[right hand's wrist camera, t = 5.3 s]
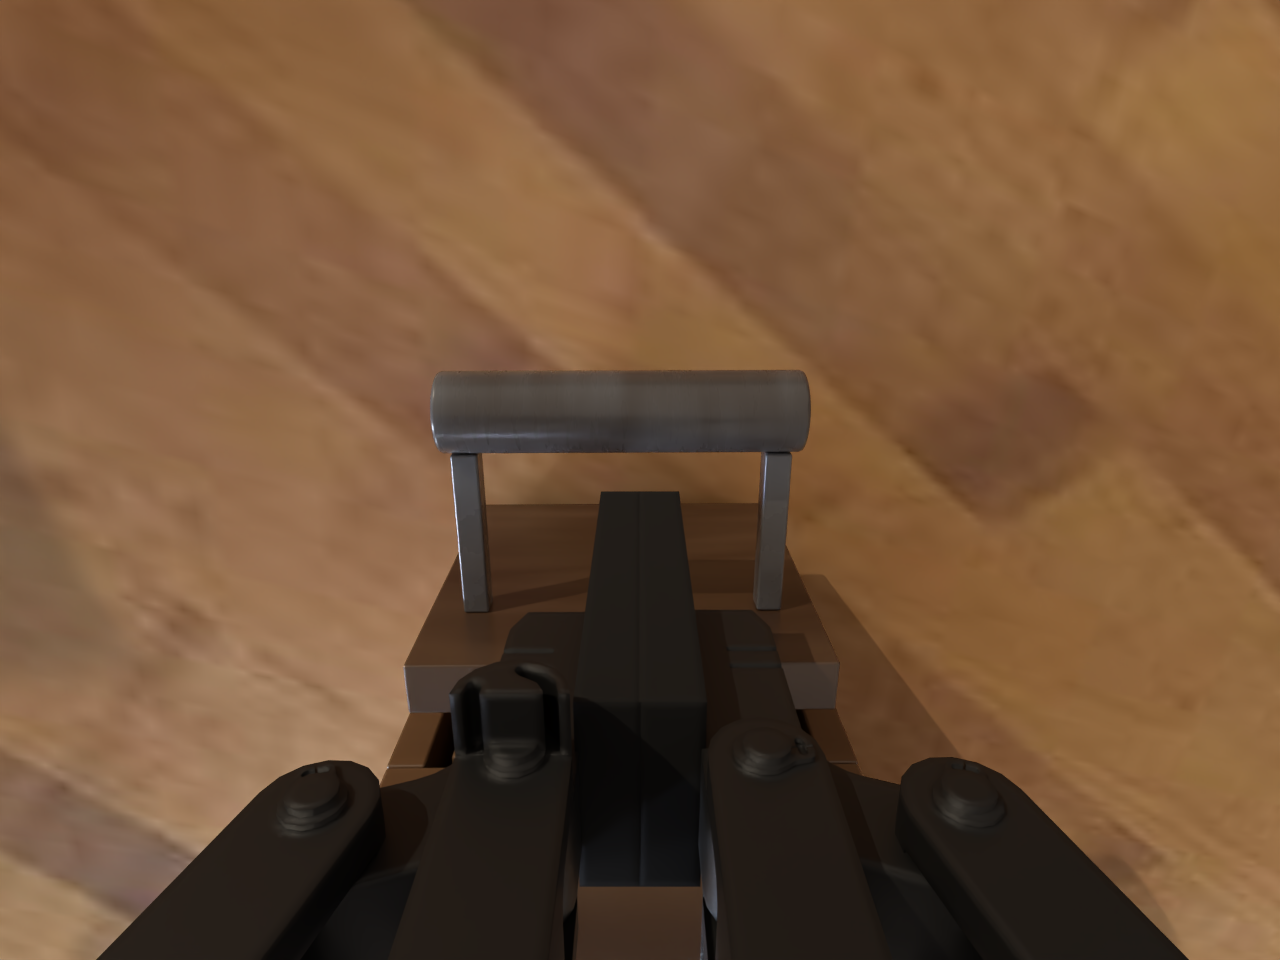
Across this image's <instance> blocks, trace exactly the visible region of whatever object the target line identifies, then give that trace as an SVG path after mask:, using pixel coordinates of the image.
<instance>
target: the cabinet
mask: <svg viewBox="0 0 1280 960" xmlns="http://www.w3.org/2000/svg"><path fill="white" fill-rule="evenodd" d="M796 712H797V716H798V719H799V722H800V725H801V729H802V730H803V731H805V732H806V733H807V734H809V735H810V736H811V737H813V738H814V739H815V740H816V741H817V743H818V744H819V746H820V747H821V749H822V751H823V752H824V754H825V756H826V759H827V760H828V761H829V762H830V763H832V764H834V765H836V766H838V767H840V768H842V769H844V770H846V771H849V772H852V773H855V774H858V775H861V776H862V774H861V771H860V769H859V766H858V765H857V759H856V757H855V754H854V752H853V750H852V747H851V745H850V742H849V740H848V737H847V735H846V732H845V730H844V728H843V725H842V723H841V720H840V718H839V715H838V713H837V710H836V708H834V709H804V710H796ZM454 750H455V749H454V739H453V729H452V720H451V713H410V714H409V717H408V719H407V721H406V724H405V726H404V728H403V731H402V733H401V735H400V738H399V740H398V742H397V745H396V747H395V749H394V752H393V754H392V756H391V759H390V761H389V763H388V766H387V768H388V769H387V770H386V772H385V774H384V777H383V779H382V781H381V784H380V788H382V787H386V786H390V785H395V784H399V783H403V782H407V781H412V780H416V779H419V778H422V777H425V776H428V775H431V774H434V773H436V772H438V771H440V770H442V769H444V768H446V767H448V766H450V765H451V764H452V756H453V753H454ZM577 900H578V926H579V928H578V940H577V952H576V960H700V953H701V926H702V900H703V890H702V879H701V886H700V887H580V886H579V882H578V893H577Z"/></svg>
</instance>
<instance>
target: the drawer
mask: <svg viewBox="0 0 1280 960" xmlns="http://www.w3.org/2000/svg"><path fill="white" fill-rule="evenodd" d="M810 417H811V400H810V390H809V384H808V380H807V377H806V375H805V373H804V372H803V371H800V370H638V371H441V372H439V373H437V374H436V376H435V378H434V381H433V385H432V389H431V397H430V419H431V428H432V434H433V438H434V441H435V444H436V447H437V449H438V450H439V451H440V452H442V453H452V455H451V457H450V460H451V471H452V482H453V493H454V504H455V515H456V526H457V537H458V548H459V553H458V555H457V557H456V559H455V561H454V563H453V565H452V568H451V570H450V572H449V574H448V576H447V578H446V580H445V582H444V584H443V586H442V588H441V590H440V592H439V594H438V596H437V598H436V600H435V603H434V605H433V607H432V609H431V611H430V613H429V615H428V617H427V619H426V621H425V623H424V625H423V627H422V629H421V631H420V633H419V635H418V637H417V640H416V642H415V644H414V646H413V648H412V650H411V652H410V654H409V656H408V658H407V660H406V662H405V664H404V667H403V668H404V676H405V684H406V692H407V700H408V708H409V712H410V713H451V710H450V700H449V693H450V692H451V690H452V689H453V687H454V686H455V684H456V683H457V682H458V680H460V679H461V678H463V677H464V676H466V675H467V674H469V673H470V672H472V671H473V670H475V669H477V668H480V667H483V666H486V665H489V664H492V663H495V662H500V660H501V657H502V654H503V653H504V647H505V644H506V641H507V637H508V634H509V631H510V629H511V628H512V627H513V626H514V625H515V624H516V623H517V622H518V621H519V620H520V619H521V618H523V617H524V616H525V615H526V614H527V613H528V612H585V608H586V601H587V593H588V586H589V578H590V571H591V564H592V556H593V549H594V541H595V534H596V526H597V519H598V512H599V504H554V505H486V500H485V487H484V474H483V461H482V453H630V452H761V468H760V485H759V502H758V503H746V504H681V512H682V519H683V526H684V534H685V541H686V549H687V556H688V564H689V571H690V578H691V586H692V593H693V601H694V608H695V610H753V611H754V612H755V613H756V614H757V615H758V616H759V617H760V618H761V619H762V620H763V621H764V622H765V623H767V624H768V625H769V626H770V628H771V631H772V634H773V638H774V641H775V644H776V651H778V654H779V657H780V660H781V666H782V668H783V670H784V673H785V677H786V680H787V683H788V686H789V690H790V693H791V696H792V699H793V703H794V706H795V709H796V710H804V709H834V708H835V704H836V695H837V685H838V676H839V666H840V663H839V660H838V658H837V656H836V654H835V652H834V650H833V647H832V645H831V643H830V641H829V639H828V636H827V634H826V632H825V630H824V628H823V625H822V623H821V621H820V619H819V617H818V615H817V612H816V610H815V608H814V606H813V604H812V601H811V599H810V597H809V595H808V593H807V590H806V588H805V586H804V584H803V582H802V580H801V577H800V575H799V573H798V571H797V569H796V566H795V564H794V562H793V560H792V558H791V555H790V553H789V551H788V549H787V547H786V533H787V519H788V505H789V492H790V478H791V464H792V455H791V453H790V452H799V451H801V450H803V448H804V447H805V444H806V441H807V438H808V434H809V428H810ZM454 757H455V750H454V753H453V756H452V763H453V760H454Z"/></svg>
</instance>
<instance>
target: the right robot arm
mask: <svg viewBox="0 0 1280 960" xmlns="http://www.w3.org/2000/svg"><path fill="white" fill-rule="evenodd" d="M449 700H450V710H451V720H452V729H453V739H454V749H455V757H454V760H453V763H452V764H451V765H450V766H448V767H446V768H444V769H442V770H440V771H438V772H436V773H434V774H431V775H428V776H425V777H422V778H419V779H416V780H412V781H407V782H403V783H399V784H395V785H390V786H386V787H382V788H380V785H379V780H378V779H377V777H376V776H375V775H374V774H373V773H372V771H371V770H370V769H369V768H368V767H365V766H363V765H360V764H357V763H355V762H352V761H332V760H328V761H323V762H319V763H314V764H310V765H305V766H302V767H300V768H298V769H296V770H294V771H291V772H289V773H287V774H285V775H283V776H281V777H279V778H278V779H276V780H275V781H274V782H272V783H271V784H270V785H269V786H267V787H266V788H265V789H264V790H262V791H261V792H260V793H259V794H258V795H257V796H256V797H255V798H254V799H253V800H252V801H251V802H250V803H249V804H248V805H247V806H246V807H245V808H244V809H243V810H242V811H241V812H240V813H239V814H238V815H237V816H236V817H235V818H234V819H233V820H232V821H231V822H230V823H229V824H228V825H227V826H226V827H225V828H224V829H223V830H222V832H221V833H220V834H219V835H218V836H217V837H216V838H215V839H214V840H213V841H212V842H211V843H210V844H209V845H208V846H207V847H206V848H205V849H204V850H203V851H202V852H201V853H200V854H199V855H198V856H197V857H196V858H195V859H194V860H193V861H192V862H191V863H190V864H189V865H188V866H187V867H186V868H185V869H184V870H183V871H182V872H181V873H180V875H179V876H178V877H177V878H176V879H175V880H174V881H173V882H172V883H171V884H170V885H169V886H168V887H167V888H166V889H165V890H164V891H163V892H162V893H161V894H160V895H159V896H158V897H157V898H156V899H155V900H154V901H153V902H152V903H151V904H150V905H149V906H148V907H147V908H146V909H145V910H144V911H143V912H142V913H141V914H140V915H139V916H138V918H137V919H136V920H135V921H134V922H133V923H132V924H131V925H130V926H129V927H128V928H127V929H126V930H125V931H124V932H123V933H122V934H121V935H120V936H119V937H118V938H117V939H116V940H115V941H114V942H113V943H112V944H111V945H110V946H109V947H108V948H107V949H106V950H105V951H104V952H103V953H102V954H101V955H100V956H99V957H98V958H97V959H96V960H576V952H577V940H578V928H579V926H578V900H577V893H578V882H579V886H580V887H700V886H701V879H702V890H703V900H702V926H701V953H700V960H1189V959H1188V958H1187V957H1186V956H1185V955H1184V954H1183V953H1182V952H1181V951H1180V950H1179V949H1178V948H1177V947H1176V946H1175V945H1174V944H1173V943H1172V942H1171V941H1170V940H1169V939H1168V938H1167V937H1166V936H1165V935H1164V934H1163V933H1162V932H1161V931H1160V930H1159V929H1158V928H1157V927H1156V926H1155V925H1154V924H1153V923H1152V922H1151V921H1150V920H1149V919H1148V918H1147V917H1146V916H1145V915H1144V914H1143V913H1142V912H1141V911H1140V910H1139V909H1138V908H1137V907H1136V905H1135V904H1134V903H1133V902H1132V901H1131V900H1130V899H1129V898H1128V897H1127V896H1126V895H1125V894H1124V893H1123V892H1122V891H1121V890H1120V889H1119V888H1118V887H1117V886H1116V885H1115V884H1114V883H1113V882H1112V881H1111V880H1110V879H1109V878H1108V877H1107V876H1106V875H1105V874H1104V873H1103V872H1102V871H1101V870H1100V869H1099V868H1098V867H1097V866H1096V865H1095V864H1094V863H1093V862H1092V861H1091V860H1090V859H1089V858H1088V857H1087V856H1086V855H1085V854H1084V853H1083V852H1082V851H1081V850H1080V849H1079V848H1078V847H1077V845H1076V844H1075V843H1074V842H1073V841H1072V840H1071V839H1070V838H1069V837H1068V836H1067V835H1066V834H1065V833H1064V832H1063V831H1062V830H1061V829H1060V828H1059V827H1058V826H1057V825H1056V824H1055V823H1054V822H1053V821H1052V820H1051V819H1050V818H1049V817H1048V816H1047V815H1046V814H1045V813H1044V812H1043V811H1042V810H1041V809H1040V808H1039V807H1038V806H1037V805H1036V804H1035V803H1034V802H1033V801H1032V800H1031V799H1030V798H1029V797H1028V796H1027V795H1026V794H1025V793H1024V792H1023V791H1022V790H1021V789H1020V788H1019V787H1018V786H1016V785H1015V784H1014V783H1012V782H1011V781H1010V780H1009V779H1007V778H1006V777H1005V776H1003V775H1002V774H1001V773H998V772H996V771H994V770H992V769H990V768H988V767H985V766H983V765H981V764H979V763H976V762H972V761H967V760H963V759H958V758H954V757H941V758H928V759H925V760H923V761H920V762H917V763H915V764H912V765H911V766H910V768H909V769H908V770H907V771H906V772H905V773H904V775H903V776H902V779H901V785H899V784H894V783H890V782H886V781H881V780H877V779H873V778H869V777H865V776H861V775H858V774H855V773H852V772H849V771H846V770H844V769H842V768H840V767H838V766H836V765H834V764H832V763H830V762H829V761H828V760H827V759H826V756H825V754H824V752H823V751H822V749H821V747H820V746H819V744H818V743H817V741H816V740H815V739H814V738H813V737H811V736H810V735H809V734H807V733H806V732H805V731H803V730H802V729H801V725H800V722H799V719H798V716H797V712H796V709H795V706H794V703H793V699H792V696H791V693H790V690H789V686H788V683H787V680H786V677H785V673H784V670H783V668H782V666H781V660H780V657H779V654H778V651H776V644H775V641H774V638H773V634H772V631H771V628H770V626H769V625H768V624H767V623H765V622H764V621H763V620H762V619H761V618H760V617H759V616H758V615H757V614H756V613H755V612H754V611H753V610H695V608H694V601H693V593H692V586H691V578H690V571H689V564H688V556H687V549H686V541H685V534H684V526H683V519H682V512H681V504H680V497H679V492H601V497H600V504H599V512H598V519H597V526H596V534H595V541H594V549H593V556H592V564H591V571H590V578H589V586H588V593H587V601H586V608H585V612H528V613H527V614H526V615H525V616H524V617H523V618H521V619H520V620H519V621H518V622H517V623H516V624H515V625H514V626H513V627H512V628H511V629H510V631H509V634H508V637H507V641H506V644H505V647H504V653H503V654H502V657H501V660H500V662H495V663H492V664H489V665H486V666H483V667H480V668H477V669H475V670H473V671H472V672H470V673H469V674H467V675H466V676H464V677H463V678H461V679H460V680H458V682H457V683H456V684H455V686H454V687H453V689H452V690H451V692H450V693H449Z"/></svg>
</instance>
